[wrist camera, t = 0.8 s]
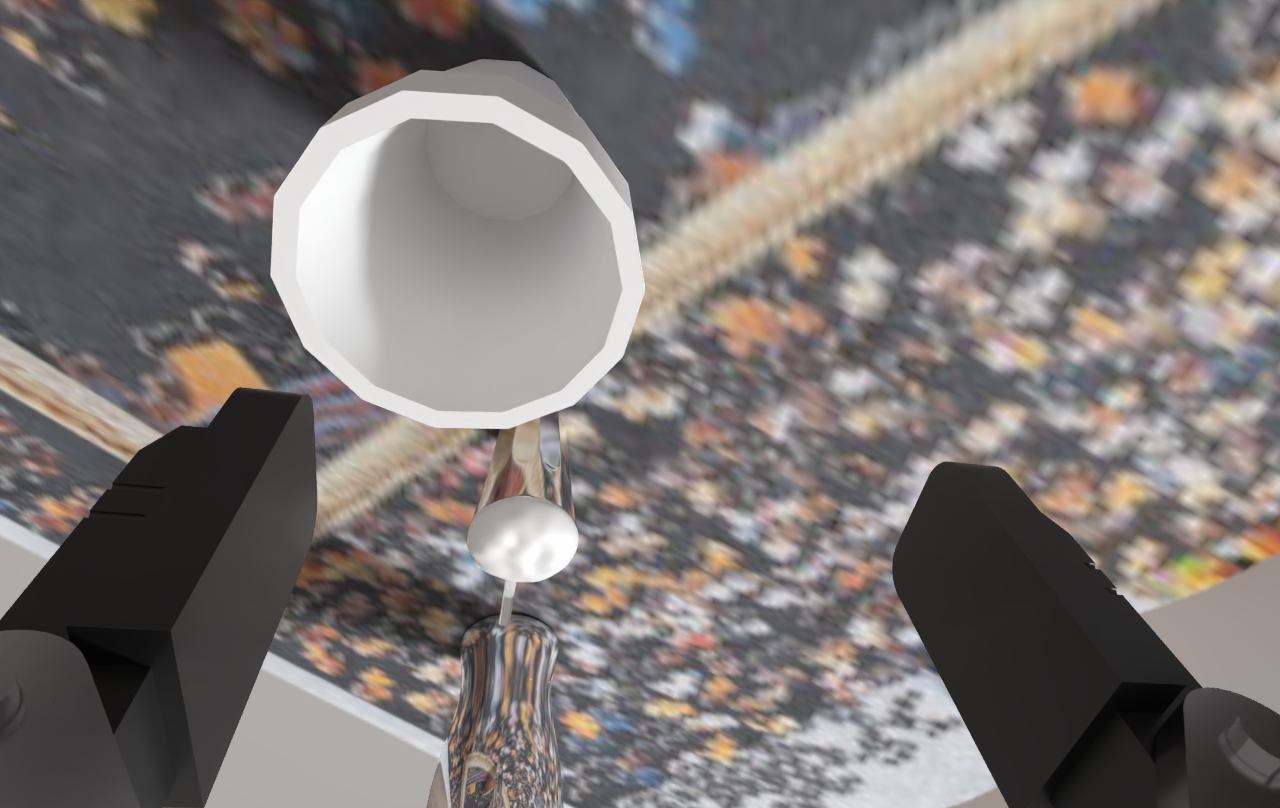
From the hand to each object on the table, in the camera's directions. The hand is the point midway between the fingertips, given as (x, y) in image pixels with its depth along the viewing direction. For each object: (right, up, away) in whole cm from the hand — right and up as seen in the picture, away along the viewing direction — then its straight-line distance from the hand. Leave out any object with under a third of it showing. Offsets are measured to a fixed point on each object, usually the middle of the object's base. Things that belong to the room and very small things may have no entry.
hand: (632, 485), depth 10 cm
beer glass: (-8, -14, +38) cm, 41 cm away
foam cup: (-5, +12, +21) cm, 24 cm away
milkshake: (-5, 0, +29) cm, 29 cm away
